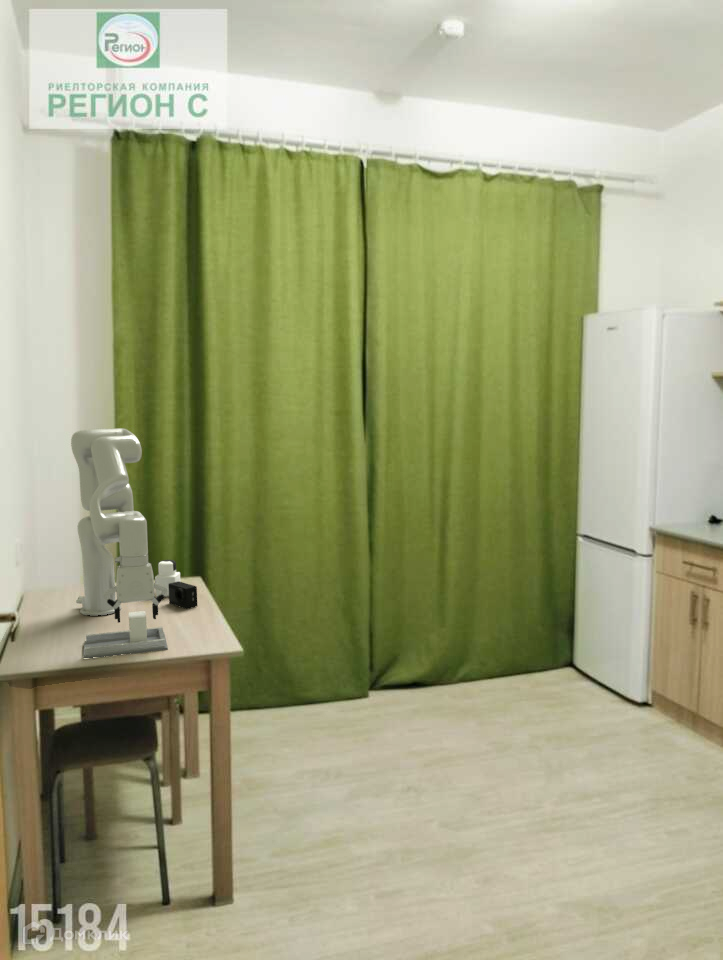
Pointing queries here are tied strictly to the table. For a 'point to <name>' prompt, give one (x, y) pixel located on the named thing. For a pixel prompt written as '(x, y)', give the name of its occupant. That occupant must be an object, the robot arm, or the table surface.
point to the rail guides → (123, 646)
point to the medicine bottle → (166, 575)
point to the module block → (137, 626)
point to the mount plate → (120, 643)
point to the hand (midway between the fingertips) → (136, 619)
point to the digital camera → (182, 594)
